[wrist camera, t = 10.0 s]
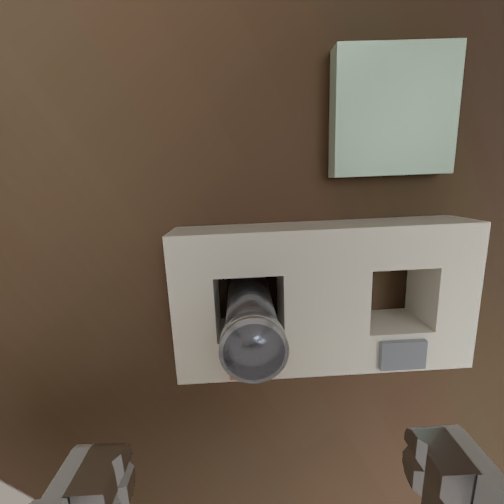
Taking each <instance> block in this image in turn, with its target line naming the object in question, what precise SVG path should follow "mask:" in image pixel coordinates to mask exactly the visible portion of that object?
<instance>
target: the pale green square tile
mask: <svg viewBox="0 0 504 504" xmlns="http://www.w3.org/2000/svg"><path fill="white" fill-rule="evenodd" d="M466 44H467V38H444V39H407V40H370V41H337V42H336V44H335V45H334V47H333V48H332V49H331V51H330V98H329V164H328V178H340V177H365V176H390V175H415V174H440V173H453V172H454V162H455V152H456V142H457V133H458V123H459V113H460V103H461V93H462V83H463V74H464V64H465V54H466Z"/></svg>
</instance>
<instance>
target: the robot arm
mask: <svg viewBox="0 0 504 504" xmlns="http://www.w3.org/2000/svg"><path fill="white" fill-rule="evenodd" d="M404 440H405V441H406V443H407V445H408V446H407V447H406V448H405V450H404V451H403V458H402V462H403V467H404V472H405V475H406V478H407V480H408V482H409V484H410V486H411V488H412V490H413V491H415V492H416V493H417V494H419V495H420V496H421V497H422V500H421V504H504V474H503V473H502V472H501V471H500V470H499V468H498V467H497V466H496V465H495V464H494V463H493V462H492V460H491V459H490V458H489V457H488V456H487V455H486V454H485V452H484V451H483V450H482V449H481V448H480V447H479V446H478V444H477V443H476V442H475V441H474V440H473V439H472V438H471V436H470V435H469V434H468V433H467V432H466V431H465V430H464V428H463V427H461V426H460V425H443V426H429V427H413V428H407V429H406V431H405V434H404ZM131 456H132V449H131V444H129V443H97V444H77V445H76V446H75V447H73V448H72V449H71V451H70V453H69V454H68V456H67V457H66V459H65V461H64V462H63V464H62V465H61V467H60V469H59V470H58V472H57V473H56V475H55V476H54V478H53V480H52V481H51V483H50V484H49V486H48V488H47V489H46V491H45V492H44V494H43V496H42V497H41V499H36V500H33V501H32V502H31V503H30V504H130V502H131V499H132V496H133V492H134V487H135V466H134V465H133V464H132V463H131V462H130V458H131Z"/></svg>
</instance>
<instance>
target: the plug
mask: <svg viewBox="0 0 504 504" xmlns="http://www.w3.org/2000/svg"><path fill="white" fill-rule="evenodd" d="M288 357H289V345H288V341H287V338H286V334H285V331H284V329H283V327H282V325H281V324H280V323H279V322H278V320H277V317H276V313H275V309H274V306H273V302H272V298H271V295H270V291H269V287H268V284H267V281H266V279H265V278H264V277H253V278H233V279H231V281H230V284H229V289H228V300H227V311H226V322H225V327H224V328H223V330H222V333H221V336H220V343H219V360H220V363H221V365H222V367H223V369H224V370H225V371H226V373H227V374H228V375H230V376H231V377H232V378H234V379H236V380H237V381H240V382H243V383H249V384H257V383H263V382H266V381H269V380H271V379H273V378H274V377H276V376H277V375H278V374H279V373H280V372H281V371H282V370H283V369H284V367H285V365H286V363H287V361H288Z"/></svg>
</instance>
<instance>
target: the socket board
mask: <svg viewBox="0 0 504 504" xmlns="http://www.w3.org/2000/svg"><path fill="white" fill-rule="evenodd" d="M490 227H491V222H488V221H482V220H476V219H470V218H465V217H459V216H453V215H434V216H411V217H388V218H366V219H343V220H320V221H298V222H275V223H252V224H230V225H207V226H184V227H175V228H173V229H172V230H171V231H169V232H168V233H167V234H165V235H164V236H163V237H162V239H163V249H164V259H165V268H166V278H167V287H168V297H169V307H170V316H171V326H172V335H173V345H174V354H175V364H176V374H177V383H178V385H185V384H202V383H218V382H235V381H237V380H236V379H234V378H232V377H231V376H230V375H228V374H227V373H226V371H225V370H224V369H223V367H222V365H221V363H220V360H219V343H220V336H221V333H222V330H223V328H224V327H225V322H226V318H221V315H220V300H219V285H218V279H233V278H253V277H274V276H277V311H278V315H276V317H277V320H278V322H279V323H280V324H281V325H282V327H283V329H284V331H285V334H286V338H287V341H288V345H289V357H288V361H287V363H286V365H285V367H284V369H283V370H282V371H281V372H280V373H279V374H278V375H277V376H276V377H274V378H273V379H286V378H303V377H320V376H337V375H354V374H371V373H388V372H405V371H422V370H439V369H456V368H472V363H473V355H474V348H475V340H476V332H477V325H478V317H479V310H480V302H481V295H482V287H483V280H484V272H485V264H486V257H487V249H488V242H489V234H490ZM396 270H407V284H406V297H405V308H399V309H380V310H371V300H372V280H373V272H375V271H396Z"/></svg>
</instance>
